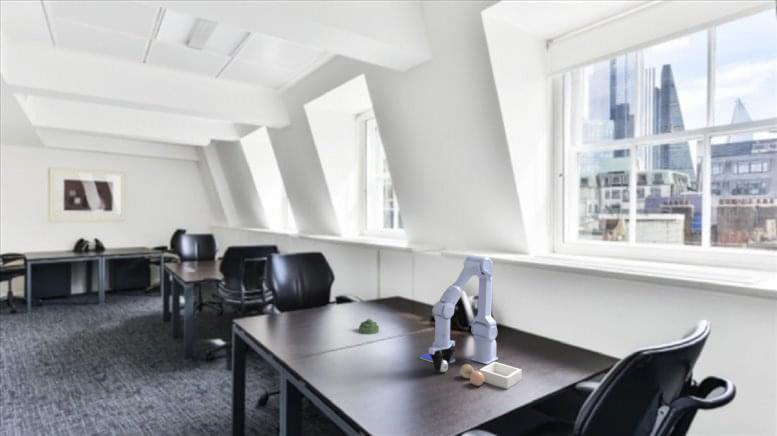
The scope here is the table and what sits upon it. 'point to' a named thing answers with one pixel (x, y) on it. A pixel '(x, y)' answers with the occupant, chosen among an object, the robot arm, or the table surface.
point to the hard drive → (428, 358)
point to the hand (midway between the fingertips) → (441, 368)
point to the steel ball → (444, 366)
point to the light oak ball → (466, 370)
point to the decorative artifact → (368, 327)
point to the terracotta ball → (477, 378)
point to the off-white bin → (501, 375)
